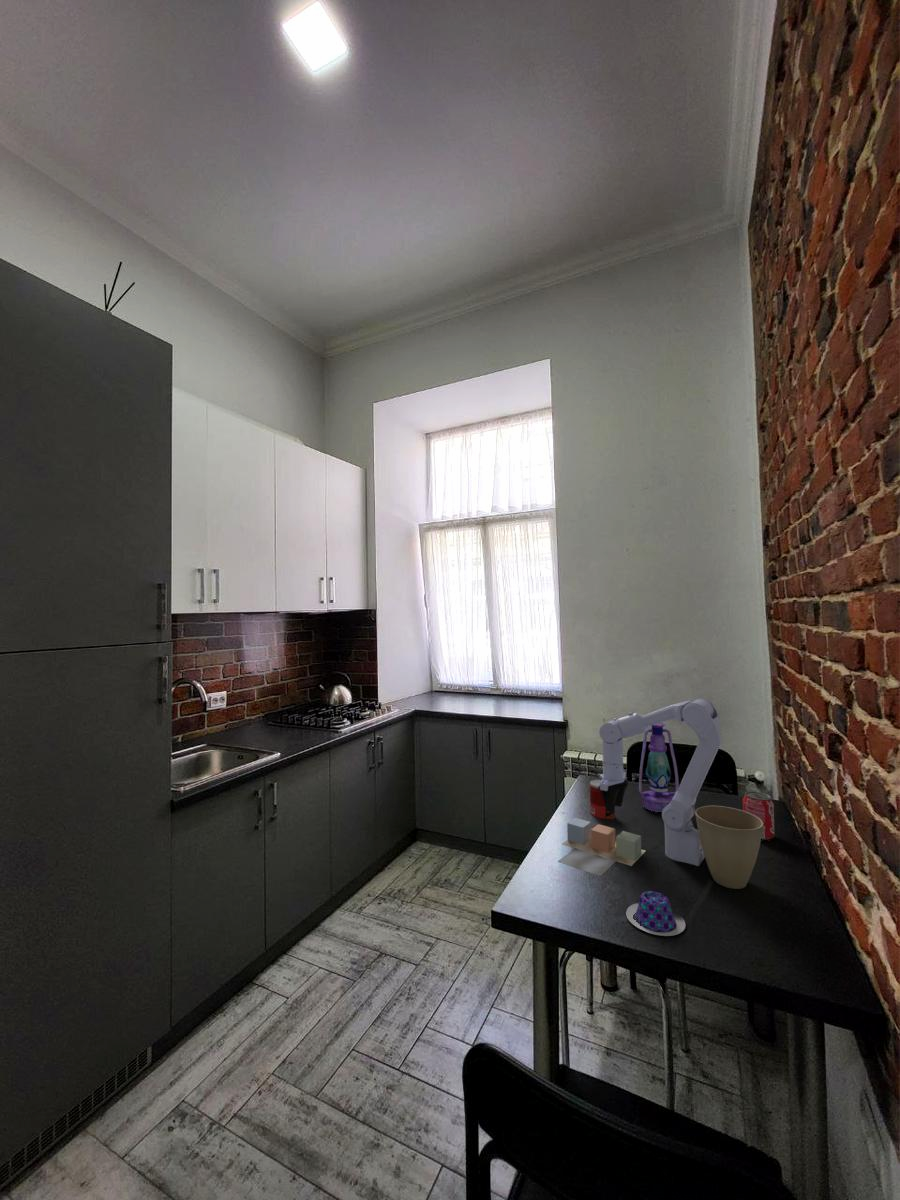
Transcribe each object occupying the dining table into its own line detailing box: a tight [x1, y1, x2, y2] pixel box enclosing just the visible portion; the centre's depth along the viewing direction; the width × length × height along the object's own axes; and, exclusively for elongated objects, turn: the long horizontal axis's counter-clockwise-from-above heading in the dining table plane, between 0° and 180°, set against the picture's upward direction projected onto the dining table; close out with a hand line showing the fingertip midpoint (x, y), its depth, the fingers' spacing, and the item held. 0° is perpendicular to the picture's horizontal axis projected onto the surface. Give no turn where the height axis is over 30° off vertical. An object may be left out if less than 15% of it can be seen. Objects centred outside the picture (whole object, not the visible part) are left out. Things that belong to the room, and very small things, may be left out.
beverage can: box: [742, 791, 776, 840], centre depth 150 cm, size 8×8×12 cm
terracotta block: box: [591, 823, 616, 853], centre depth 141 cm, size 5×5×5 cm
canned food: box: [589, 779, 616, 821], centre depth 165 cm, size 8×8×11 cm
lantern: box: [638, 722, 680, 813], centre depth 172 cm, size 13×12×30 cm
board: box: [557, 839, 647, 877], centre depth 137 cm, size 20×21×1 cm
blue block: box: [566, 817, 592, 845], centre depth 146 cm, size 5×5×5 cm
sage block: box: [615, 830, 642, 862], centre depth 136 cm, size 5×5×5 cm
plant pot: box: [694, 805, 763, 890], centre depth 124 cm, size 15×15×16 cm
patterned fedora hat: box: [625, 890, 686, 937], centre depth 109 cm, size 12×12×5 cm
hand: (614, 808), depth 147 cm, fingers open, 5 cm apart
